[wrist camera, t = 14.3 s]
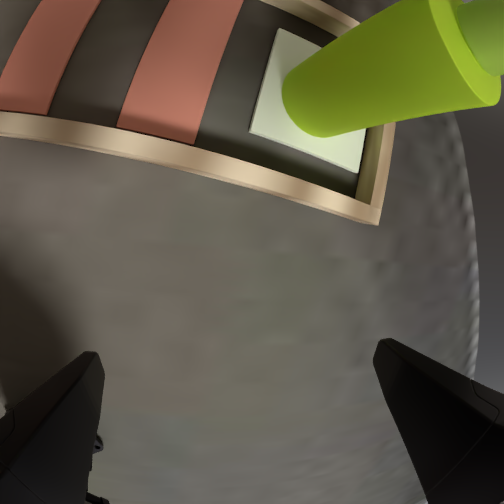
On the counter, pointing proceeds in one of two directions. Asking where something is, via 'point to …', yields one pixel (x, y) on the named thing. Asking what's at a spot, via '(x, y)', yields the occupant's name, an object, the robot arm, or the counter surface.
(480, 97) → the soap dispenser
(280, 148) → the counter surface
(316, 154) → the pad
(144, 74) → the mats
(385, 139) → the frame
